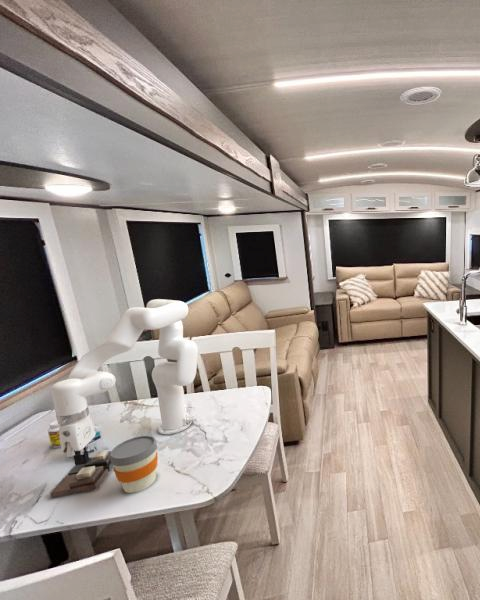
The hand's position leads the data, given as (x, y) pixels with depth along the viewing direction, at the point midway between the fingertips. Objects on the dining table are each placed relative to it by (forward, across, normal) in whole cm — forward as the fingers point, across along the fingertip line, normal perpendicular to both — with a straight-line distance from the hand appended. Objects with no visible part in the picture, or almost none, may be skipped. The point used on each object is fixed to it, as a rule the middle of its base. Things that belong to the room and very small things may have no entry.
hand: (82, 462), depth 109 cm
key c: (+5, +9, 0) cm, 11 cm away
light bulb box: (+9, +22, +10) cm, 25 cm away
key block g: (+9, 0, +2) cm, 9 cm away
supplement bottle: (+9, +30, +23) cm, 39 cm away
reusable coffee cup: (+9, -4, -17) cm, 20 cm away
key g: (+5, 0, 0) cm, 6 cm away
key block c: (+9, +10, +2) cm, 13 cm away
